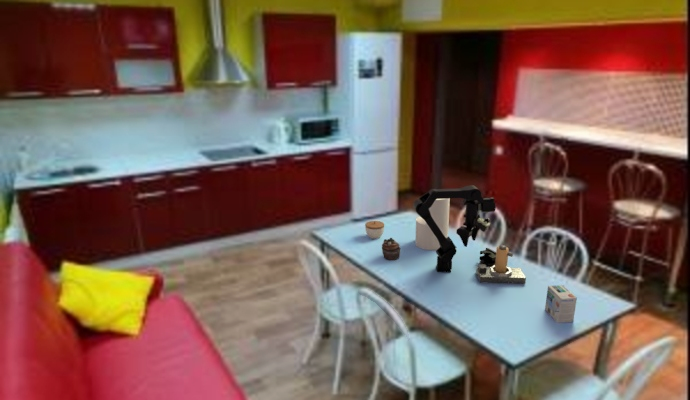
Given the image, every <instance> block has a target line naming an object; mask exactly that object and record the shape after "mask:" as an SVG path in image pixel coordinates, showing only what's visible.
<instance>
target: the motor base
mask: <svg viewBox="0 0 690 400" xmlns="http://www.w3.org/2000/svg"><path fill="white" fill-rule="evenodd" d="M477 265H478V266H476V269H475V270H476V272H475V273H476V276H477V279H478V280H479V283H480V284H515V285H518V284H519V285H520V284H521V285H525V284H526V278H527V277H526V275H525V274H524V273H523V270H522V269H521V267H508V266H507V272H506V273H498V272H496V271H495V265H494V266H492V267H487V266H485V264H482V263H478V264H477Z"/></svg>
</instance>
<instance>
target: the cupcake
mask: <svg viewBox="0 0 690 400" xmlns="http://www.w3.org/2000/svg"><path fill="white" fill-rule="evenodd" d="M401 250H402V249H401V247H400V244H399V243H398V242H397V241H396V240H395V239H393V237H390V238H389V239H388V238H387V239H384V240H383V242H382V244H381V251H382V254H383V259H384V260H387V261H396V260H399V259H400V254H401Z"/></svg>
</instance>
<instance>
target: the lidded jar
mask: <svg viewBox="0 0 690 400" xmlns="http://www.w3.org/2000/svg"><path fill="white" fill-rule="evenodd" d="M364 227H365V232H366V234H367V236H368V237H369V238H370V239H374V240H375V239H376V240H377V239H380V238H381V237H382V235H383V234H384V231H385V223H384V222H383V221H379V220H371V221H370V220H369V221H367V222H366V223H365V225H364Z"/></svg>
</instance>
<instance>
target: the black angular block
mask: <svg viewBox="0 0 690 400" xmlns="http://www.w3.org/2000/svg"><path fill="white" fill-rule="evenodd" d="M479 255H481V256H479V264H485V266H486V267H492V266H494V265H495V261H496V250H495V251H494V250H493V249H491V248H490V247H486V248H485V250H480V252H479Z"/></svg>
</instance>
